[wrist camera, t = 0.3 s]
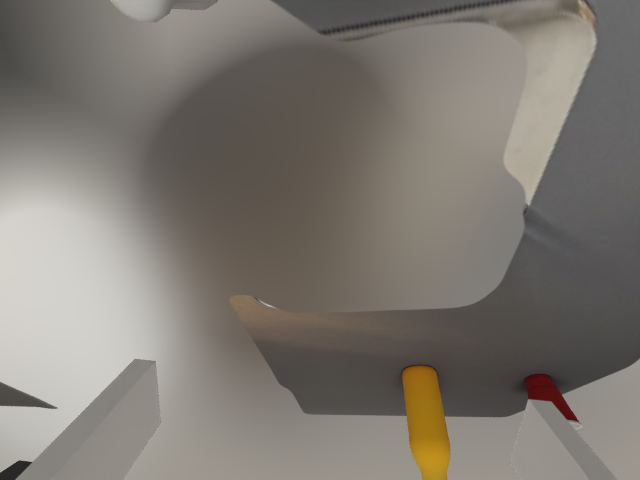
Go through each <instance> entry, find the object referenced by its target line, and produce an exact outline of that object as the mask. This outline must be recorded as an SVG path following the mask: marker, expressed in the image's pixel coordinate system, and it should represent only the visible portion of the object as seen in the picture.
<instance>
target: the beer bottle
mask: <svg viewBox="0 0 640 480" xmlns="http://www.w3.org/2000/svg"><path fill="white" fill-rule="evenodd" d="M402 380H403V387H404V395H405V404H406V413H407V422H408V431H409V441H410V448H411V451H412V454H413V457H414V459H415V461H416V463H417V465H418V467H419V469H420V471H421V474H422V478H423V480H447V468H448V464H449V460H450V443H449V438H448V433H447V428H446V423H445V417H444V411H443V406H442V401H441V395H440V390H439V384H438V378H437V374H436V371H435V370H434V369H433V368H432V367H429V366H425V365H414V366H410V367H407V368H405V369H404V370H403V372H402Z"/></svg>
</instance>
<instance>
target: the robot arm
mask: <svg viewBox="0 0 640 480" xmlns="http://www.w3.org/2000/svg"><path fill="white" fill-rule="evenodd" d="M160 423H161V419H160V406H159V395H158V384H157V372H156V361H150V360H140V359H135V360H133V362H131V363H130V364H129V365H128V366H127V368H126V369H125V370H124V371H123V372H122V373H121V374H120V375H119V376H118V377H117V378H116V379H115V380H114V381H113V382H112V383H111V384H110V385H109V386H108V387H107V388H106V389H105V390H104V391H103V392H102V393H101V394H100V395H99V396H98V397H97V398H96V399H95V400H94V401H93V402H92V403H91V404H90V405H89V406H88V407H87V408H86V409H85V410H84V411H83V412H82V413H81V414H80V415H79V416H78V417H77V418H76V419H75V420H74V421H73V422H72V423H71V424H70V425H69V426H68V427H67V428H66V429H65V430H64V431H63V432H62V433H61V434H60V435H59V436H58V437H57V438H56V439H55V440H54V441H53V442H52V443H51V444H50V445H49V446H48V447H47V448H46V449H45V450H44V451H43V452H42V453H41V454H40V455H39V456H38V457H37V458H36V459H35V460H34V461H33V462H27V461H18V462H16V463H14V464H13V465H11V466H10V467H8V468H7V469H5V470H4V471H2V472H1V473H0V480H123V479H124V477H125V476H126V474H127V473H128V471H129V470H130V468H131V467H132V465H133V464H134V462H135V461H136V459H137V458H138V456H139V455H140V453H141V452H142V450H143V449H144V447H145V446H146V444H147V442H148V441H149V439H150V438H151V437H152V435H153V434H154V432H155V431H156V429H157V427H158V426H159V424H160ZM510 463H511V464H512V466H513V468H514V470H515V472H516V473H517V475H518V477H519V479H520V480H617V479H616V477H615V476H614V475H613V474H612V473H611V472H610V470H609V469H608V468H607V467H606V466H605V464H604V463H603V462H602V461H601V460H600V459H599V457H598V456H597V455H596V454H595V453H594V451H593V450H592V449H591V448H590V447H589V445H588V444H587V443H586V442H585V441H584V440H583V438H582V437H581V436H580V435H579V434H578V432H577V431H576V430H575V429H574V428H573V427H572V425H571V424H570V423H569V422H568V421H567V419H566V418H565V417H564V416H563V415H562V414H561V412H560V411H559V410H558V409H557V408H556V406H555V405H554V404H553V403H552V402H551V401H541V400H531V399H528V402H527V406H526V409H525V412H524V415H523V419H522V422H521V425H520V429H519V432H518V435H517V438H516V442H515V445H514V448H513V452H512V455H511V458H510Z"/></svg>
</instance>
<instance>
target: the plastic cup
mask: <svg viewBox="0 0 640 480" xmlns="http://www.w3.org/2000/svg"><path fill="white" fill-rule="evenodd" d="M526 386H527V391H528V398H529V399H531V400H541V401H551V402H552V403H553V404H554V405H555V406H556V408H557V409H558V410H559V411H560V412H561V414H562V415H563V416H564V417H565V418H566V419H567V421H568V422H569V423H570V424H571V425H572V427H573V428H574V429H575V430H576V429H579V428H582V427H583V425H582V424H581V423H580V422H579V421H578V420H577V418H576V416H575V415H574V413H573V412H572V411H571V409H570V408H569V406H568V405H567V403H566V401H565V400H564V398H563V396H562V395H561V393H560V391H559V390H558V389H557V387H556V386H555V384H554V383H553V381H552V379H551V378H550V377H549V376H548V375H545V374H535V375H531V376H528V377H527V378H526Z"/></svg>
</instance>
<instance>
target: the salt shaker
mask: <svg viewBox="0 0 640 480" xmlns="http://www.w3.org/2000/svg"><path fill="white" fill-rule="evenodd" d="M110 1H111V2H112V3H113V4H114V5H115V6H116V7H117V8H118V9H119V10H120V11H121V12H122V13H123V14H124V15H126V16H128V17H129V18H132V19H133V20H135V21H137V22H157V21H159V20H160V19H162V18H163V17H164V16H166V15H167V14H169V13H170V10H171V9H190V10H192V9H194V10H195V9H196V10H199V9H200V10H205V9H207V8H208V7H210V6H212V5H213V4H215V3H216V2H217V1H218V0H110Z"/></svg>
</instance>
